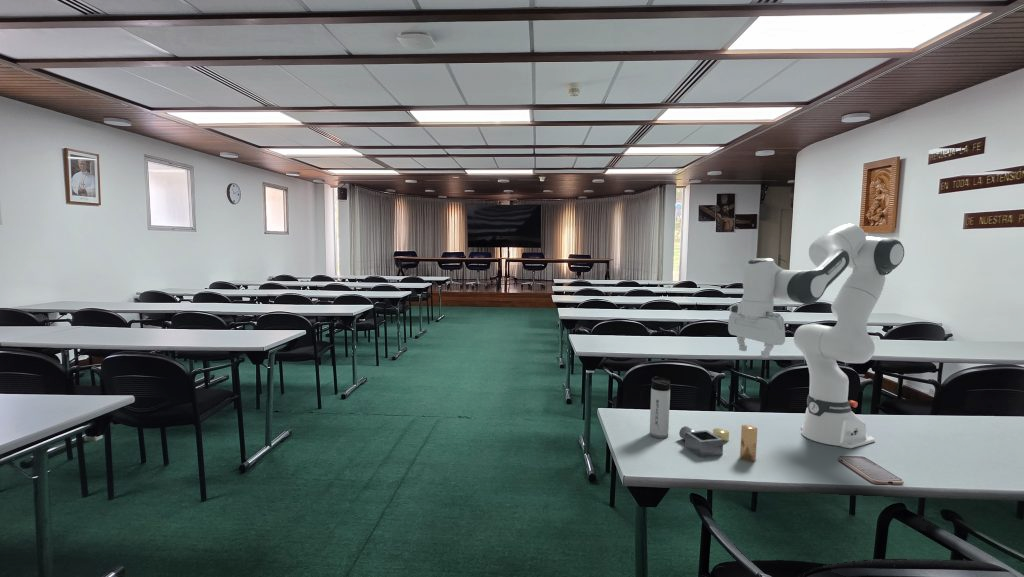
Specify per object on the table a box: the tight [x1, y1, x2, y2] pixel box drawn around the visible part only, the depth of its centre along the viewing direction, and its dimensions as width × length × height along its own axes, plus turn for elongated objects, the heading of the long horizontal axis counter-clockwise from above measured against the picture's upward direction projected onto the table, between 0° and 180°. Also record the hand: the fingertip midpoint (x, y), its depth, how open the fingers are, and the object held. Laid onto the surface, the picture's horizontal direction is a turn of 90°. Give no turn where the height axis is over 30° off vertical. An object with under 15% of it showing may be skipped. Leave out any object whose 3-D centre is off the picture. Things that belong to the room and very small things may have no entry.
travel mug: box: [649, 376, 671, 439], centre depth 163 cm, size 6×7×20 cm
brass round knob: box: [712, 428, 730, 443], centre depth 160 cm, size 5×5×3 cm
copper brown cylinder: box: [739, 424, 758, 463], centre depth 145 cm, size 4×4×10 cm
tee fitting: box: [678, 425, 724, 458], centre depth 153 cm, size 8×14×5 cm, turn 14°
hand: (753, 353), depth 146 cm, fingers open, 8 cm apart
